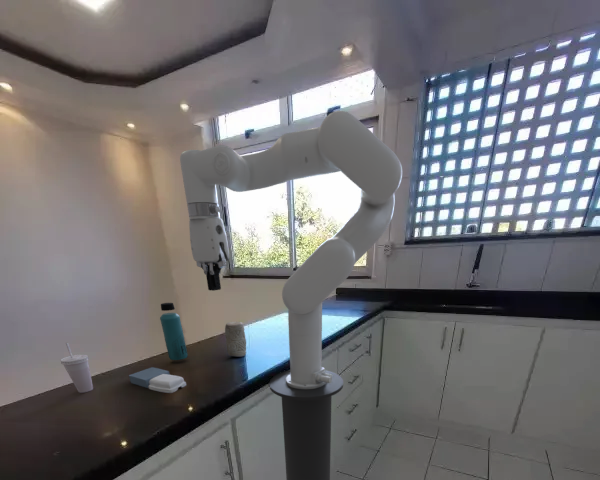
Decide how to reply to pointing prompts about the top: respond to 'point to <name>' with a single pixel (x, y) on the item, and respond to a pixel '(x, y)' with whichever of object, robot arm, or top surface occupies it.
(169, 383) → the white clamshell food container
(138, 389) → the top surface
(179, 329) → the beverage bottle
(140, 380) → the rubber pad
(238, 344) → the carving
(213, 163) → the robot arm
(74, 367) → the smoothie
